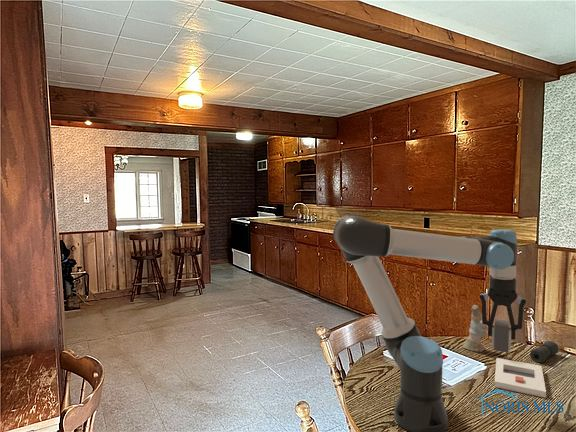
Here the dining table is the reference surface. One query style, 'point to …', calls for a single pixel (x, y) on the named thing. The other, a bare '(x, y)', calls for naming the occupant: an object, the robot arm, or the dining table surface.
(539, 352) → the flashlight
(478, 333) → the figurine
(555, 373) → the dining table surface
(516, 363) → the socket plate
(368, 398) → the dining table surface
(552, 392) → the dining table surface
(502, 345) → the plug
